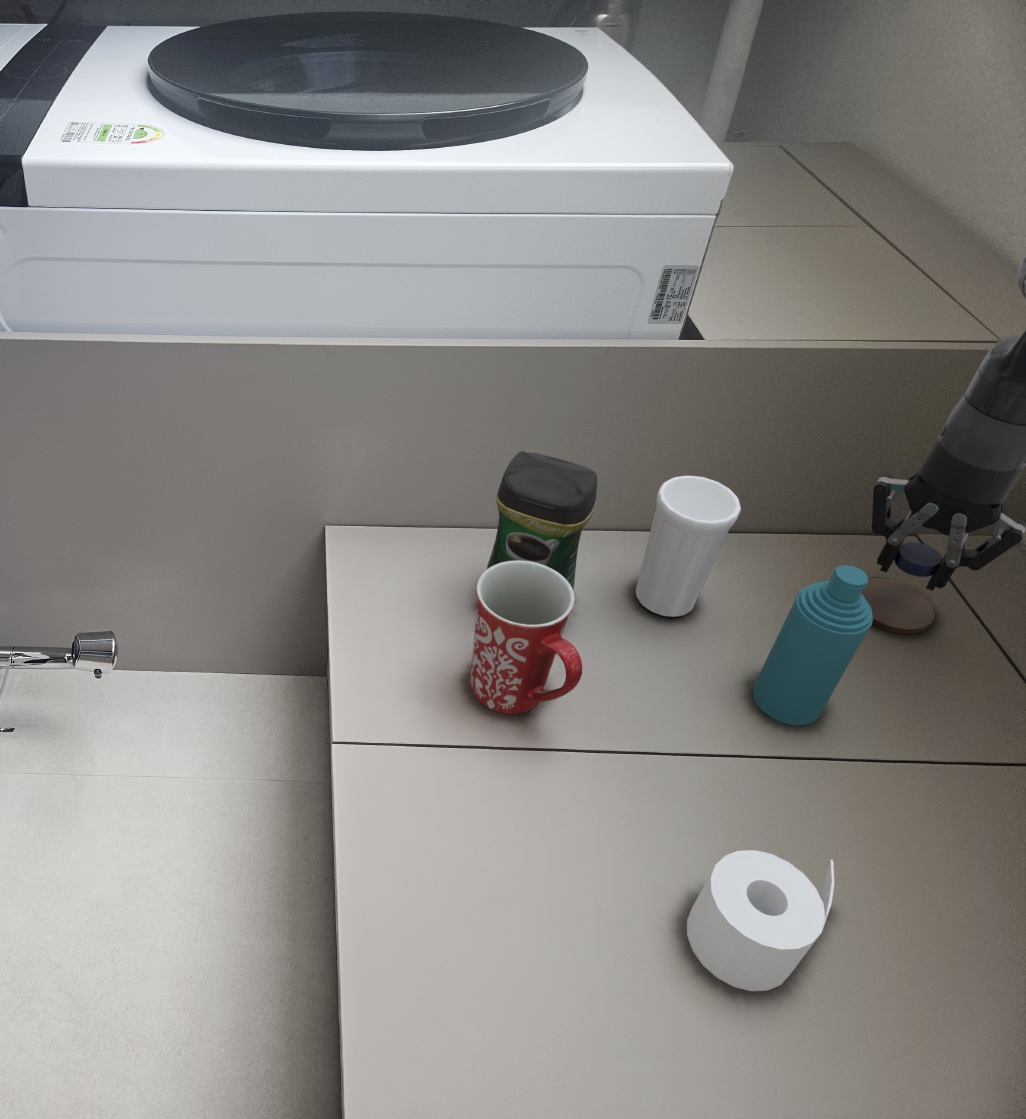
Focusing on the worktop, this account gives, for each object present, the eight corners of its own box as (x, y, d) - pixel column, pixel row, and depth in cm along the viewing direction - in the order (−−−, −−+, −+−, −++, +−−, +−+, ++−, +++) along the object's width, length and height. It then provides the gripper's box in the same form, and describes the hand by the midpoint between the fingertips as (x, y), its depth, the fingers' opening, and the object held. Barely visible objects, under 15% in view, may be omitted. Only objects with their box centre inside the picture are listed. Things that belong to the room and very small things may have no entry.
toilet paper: (824, 912, 80) (856, 868, 76) (768, 1013, 74) (799, 972, 70) (728, 852, 85) (753, 807, 80) (668, 943, 78) (691, 900, 74)
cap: (921, 550, 104) (926, 539, 103) (945, 574, 101) (950, 563, 100) (886, 555, 104) (890, 544, 103) (908, 579, 101) (913, 568, 100)
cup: (699, 633, 104) (740, 532, 94) (621, 613, 106) (654, 513, 97) (704, 585, 110) (744, 484, 100) (631, 567, 112) (662, 467, 102)
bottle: (828, 695, 97) (899, 569, 86) (810, 736, 94) (882, 610, 82) (763, 666, 100) (823, 541, 89) (743, 705, 97) (804, 580, 85)
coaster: (939, 603, 107) (942, 598, 106) (921, 645, 102) (924, 640, 102) (862, 573, 111) (864, 568, 110) (841, 612, 106) (844, 607, 106)
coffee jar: (577, 594, 109) (613, 460, 96) (555, 640, 104) (590, 504, 91) (494, 567, 112) (519, 434, 100) (470, 609, 107) (492, 475, 95)
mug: (442, 671, 100) (457, 576, 91) (515, 643, 103) (536, 548, 94) (515, 761, 92) (538, 667, 83) (591, 728, 95) (622, 633, 86)
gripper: (1078, 453, 91) (989, 586, 102) (913, 402, 97) (847, 531, 109) (1064, 492, 86) (973, 626, 98) (893, 435, 93) (827, 567, 105)
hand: (907, 575), depth 103 cm, fingers closed on cap, 4 cm apart
